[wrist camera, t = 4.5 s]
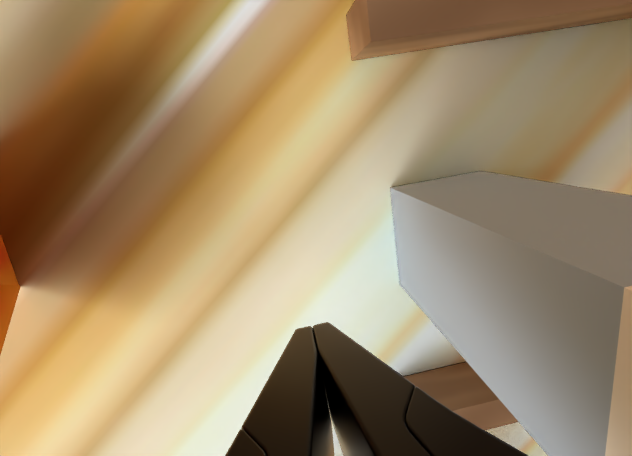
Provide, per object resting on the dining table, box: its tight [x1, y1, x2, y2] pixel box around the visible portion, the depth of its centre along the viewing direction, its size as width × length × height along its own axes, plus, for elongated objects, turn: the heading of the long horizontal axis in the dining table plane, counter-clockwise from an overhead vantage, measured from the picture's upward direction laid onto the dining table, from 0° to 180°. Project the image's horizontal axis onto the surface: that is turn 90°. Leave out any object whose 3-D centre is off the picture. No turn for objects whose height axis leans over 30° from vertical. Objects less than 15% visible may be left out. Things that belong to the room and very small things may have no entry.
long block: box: [390, 171, 632, 456], centre depth 10 cm, size 4×4×10 cm
